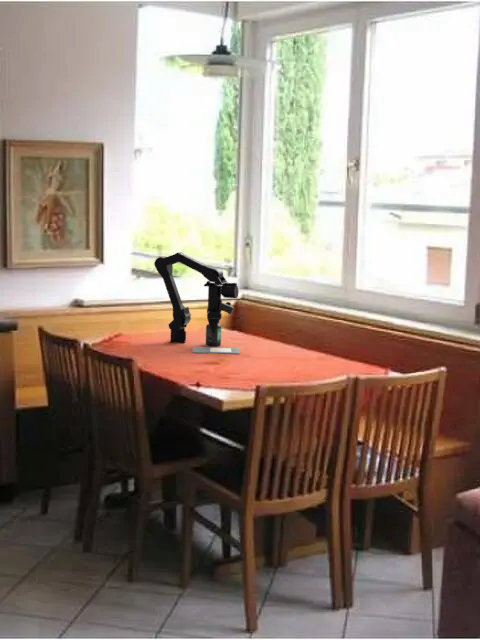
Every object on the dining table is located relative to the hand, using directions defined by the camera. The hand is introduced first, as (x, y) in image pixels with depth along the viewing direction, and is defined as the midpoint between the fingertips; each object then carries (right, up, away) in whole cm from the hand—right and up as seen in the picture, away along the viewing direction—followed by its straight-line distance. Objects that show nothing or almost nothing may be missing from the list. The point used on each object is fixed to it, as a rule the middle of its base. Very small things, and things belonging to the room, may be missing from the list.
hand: (213, 331), depth 421 cm
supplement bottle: (0, -6, +1) cm, 6 cm away
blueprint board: (+1, -8, -13) cm, 16 cm away
